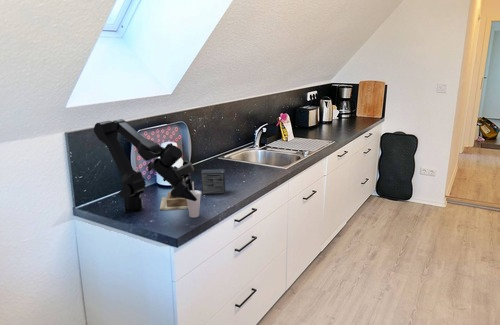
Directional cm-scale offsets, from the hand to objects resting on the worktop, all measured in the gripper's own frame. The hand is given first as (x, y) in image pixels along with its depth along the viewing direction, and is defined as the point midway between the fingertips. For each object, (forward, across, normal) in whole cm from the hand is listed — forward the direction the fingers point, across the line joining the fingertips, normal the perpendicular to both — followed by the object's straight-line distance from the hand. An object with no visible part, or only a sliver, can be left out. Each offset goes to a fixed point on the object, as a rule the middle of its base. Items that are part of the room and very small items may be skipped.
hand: (196, 197), depth 159 cm
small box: (+9, +28, +2) cm, 29 cm away
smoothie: (+4, 0, +6) cm, 8 cm away
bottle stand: (-1, +14, +12) cm, 18 cm away
